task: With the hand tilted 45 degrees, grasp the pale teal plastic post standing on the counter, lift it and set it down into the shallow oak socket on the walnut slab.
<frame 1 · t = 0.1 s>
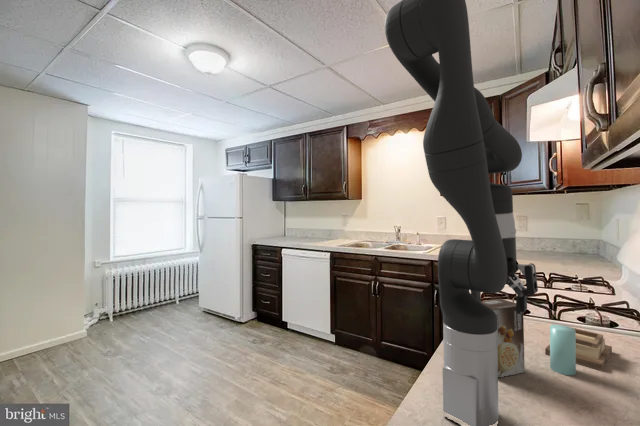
hand: (498, 308, 66), 17 cm above the counter, tool pointing down, fingers open, 8 cm apart
base slab: (578, 353, 80), on the counter
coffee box: (498, 370, 73), on the counter
teal post: (562, 369, 73), on the counter
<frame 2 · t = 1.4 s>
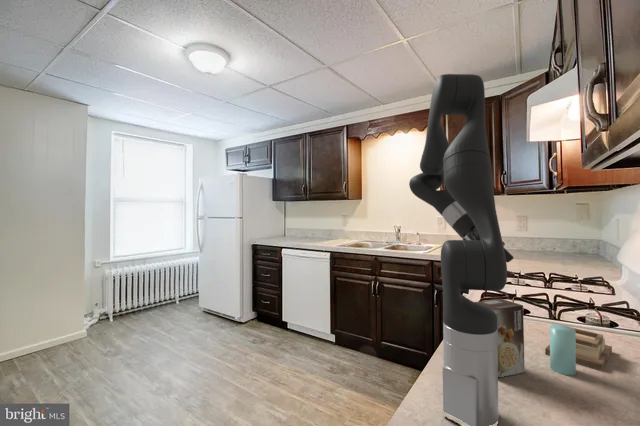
hand: (504, 262, 82), 24 cm above the counter, tool tilted 45°, fingers open, 8 cm apart
nothing on the counter moved.
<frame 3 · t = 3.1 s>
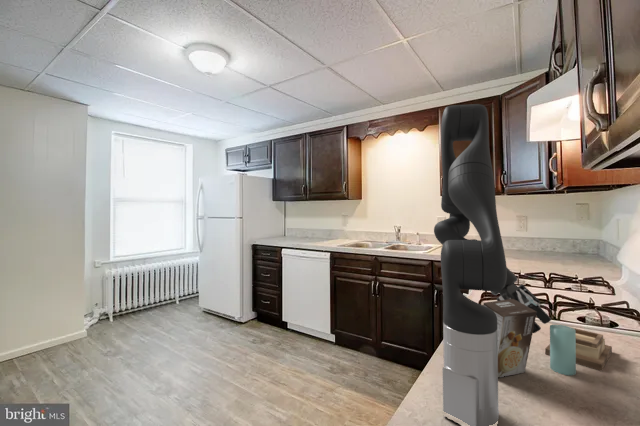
hand: (543, 326, 76), 9 cm above the counter, tool tilted 45°, fingers open, 8 cm apart
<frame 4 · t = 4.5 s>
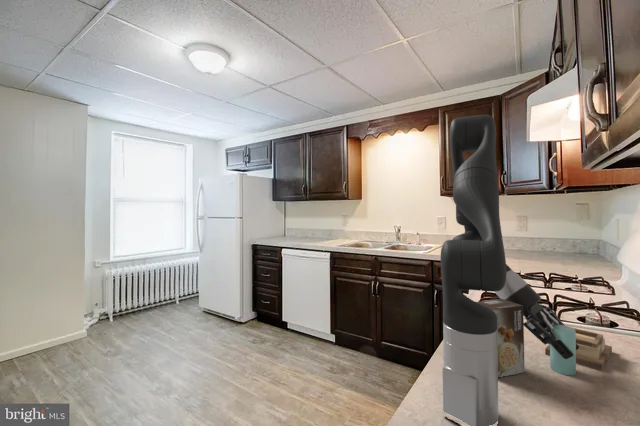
hand: (572, 353, 71), 5 cm above the counter, tool tilted 45°, fingers closed on teal post, 4 cm apart
teal post: (562, 369, 73), on the counter, touching gripper
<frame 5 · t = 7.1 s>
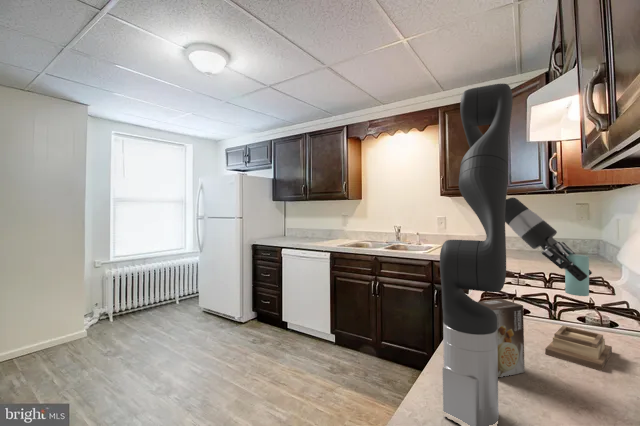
hand: (586, 277, 79), 20 cm above the counter, tool tilted 45°, fingers closed on teal post, 4 cm apart
teal post: (576, 293, 80), point 16 cm above the counter, touching gripper
everything else where it was.
when the fingers open (10 cm above the counter, at t = 9.5 s): teal post drops 1 cm, resting on base slab.
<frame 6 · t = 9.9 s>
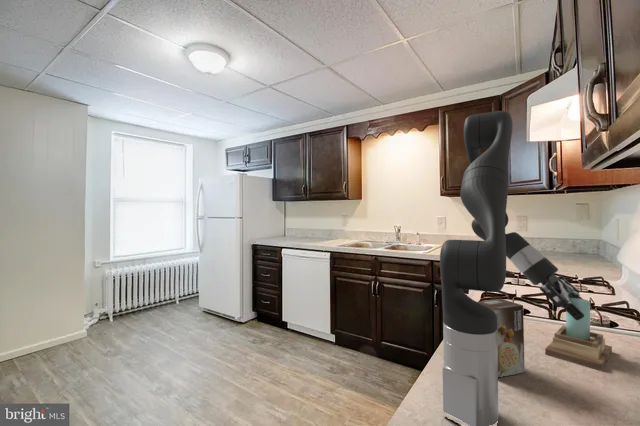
hand: (585, 314, 79), 11 cm above the counter, tool tilted 45°, fingers open, 8 cm apart
teal post: (577, 338, 80), point 4 cm above the counter, touching base slab
everything else where it was.
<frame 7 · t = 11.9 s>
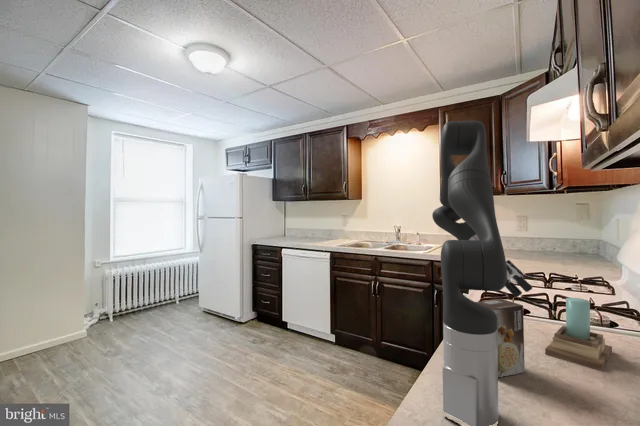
hand: (524, 292, 89), 14 cm above the counter, tool tilted 45°, fingers open, 8 cm apart
nothing on the counter moved.
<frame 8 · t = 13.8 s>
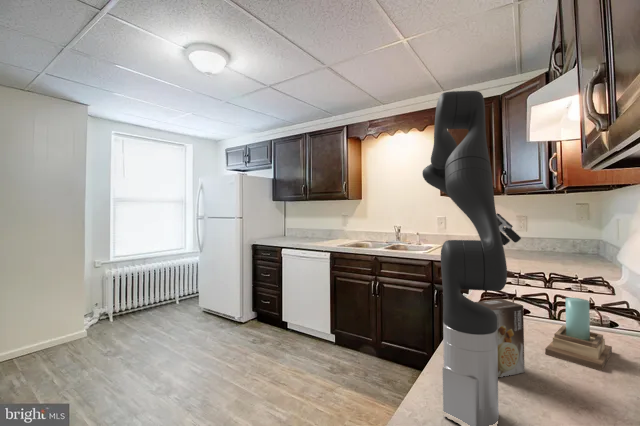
hand: (513, 241, 89), 29 cm above the counter, tool tilted 45°, fingers open, 8 cm apart
nothing on the counter moved.
at the end: teal post 0.2 cm off-centre on the base slab, point 4.0 cm above the base slab's base; teal post tilted 1°; the gripper is holding nothing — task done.
